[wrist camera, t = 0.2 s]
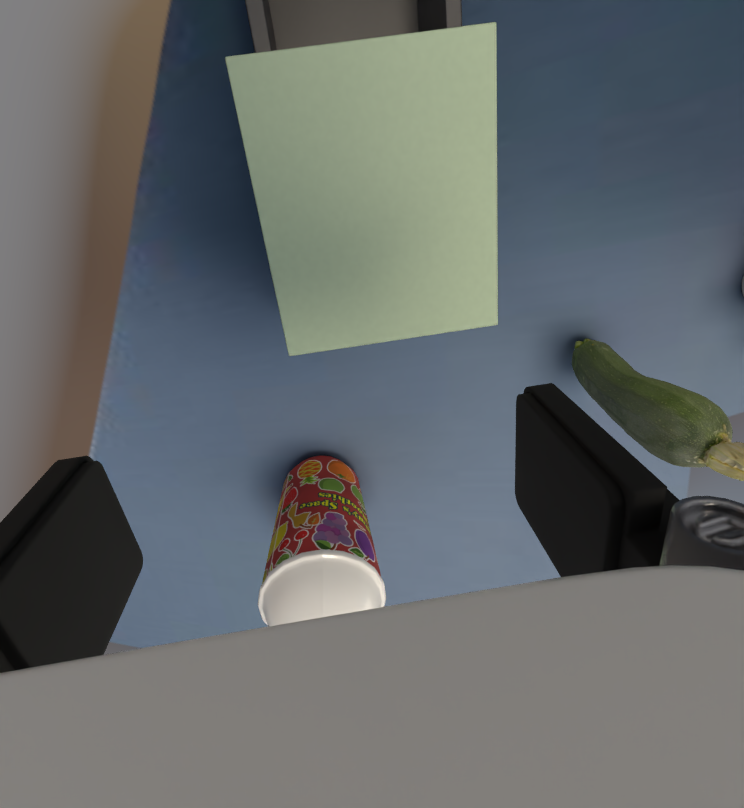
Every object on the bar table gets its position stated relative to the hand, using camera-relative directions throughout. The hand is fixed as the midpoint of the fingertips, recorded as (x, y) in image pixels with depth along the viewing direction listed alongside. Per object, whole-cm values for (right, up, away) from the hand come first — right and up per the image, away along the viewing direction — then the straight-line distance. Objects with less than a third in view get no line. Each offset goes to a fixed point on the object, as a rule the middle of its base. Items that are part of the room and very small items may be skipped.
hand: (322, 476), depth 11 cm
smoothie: (-4, -5, +33) cm, 34 cm away
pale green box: (+1, +16, +23) cm, 28 cm away
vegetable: (+18, +6, +30) cm, 35 cm away
